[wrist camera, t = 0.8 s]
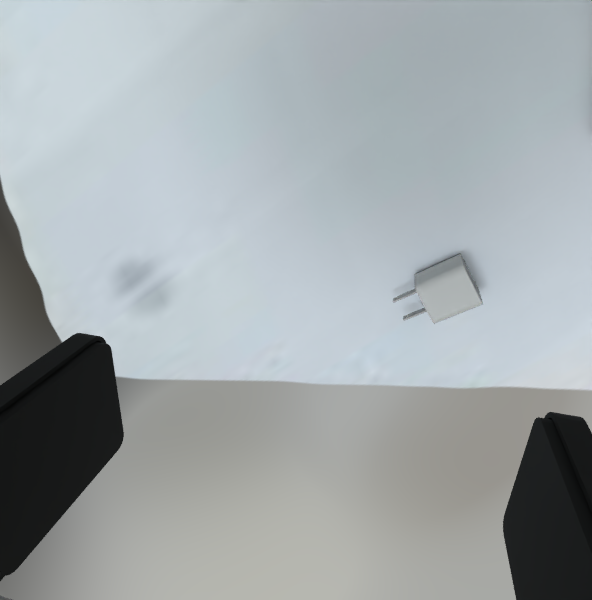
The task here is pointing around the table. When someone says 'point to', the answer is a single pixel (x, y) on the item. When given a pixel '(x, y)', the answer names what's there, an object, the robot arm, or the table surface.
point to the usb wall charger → (445, 290)
